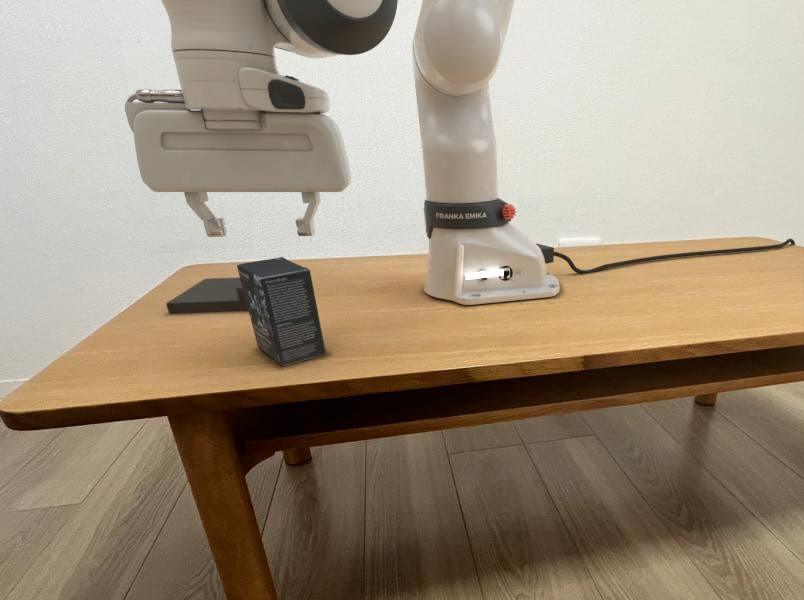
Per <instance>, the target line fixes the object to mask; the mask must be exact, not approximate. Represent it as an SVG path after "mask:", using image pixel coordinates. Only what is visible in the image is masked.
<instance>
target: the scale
mask: <svg viewBox="0 0 804 600" xmlns="http://www.w3.org/2000/svg"><path fill="white" fill-rule="evenodd" d="M165 304H166V308H167V311H168V314H169V315H179V314H181V315H182V314H184V315H185V314H206V313H207V314H208V313H232V312H249V311H248V307H247V303H246V299H245V296H244V292H243V288H242V284H241V280H240V277H214V278H203V279H202V280H201V281H199V282H198V283H196V284H194V285H193V286H191V287H190V288H188V289H186V290H185V291H183V292H182V293H180V294H179V295H177V296H176V297H174V298H172V299H171V300H169V301H168V302H166V303H165Z"/></svg>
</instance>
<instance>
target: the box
mask: <svg viewBox="0 0 804 600" xmlns="http://www.w3.org/2000/svg"><path fill="white" fill-rule="evenodd" d="M236 267H237V273H238V277H239V278H240V280H241V284H242V288H243V292H244V296H245V299H246V303H247V307H248V311H247V312H248V314H249V315H248V316H249V318H250V321H251V322H250V323H251V326H252V329H253V334H254V338H255V341H256V345H257V348H258V349H259V350H261V351H262V352H264V353H265V354H266V355H267V356H269V357H270V358H271V359H272V360H274V361H275V362H276V363H277V364H279V365H280V366H281V367H286V366H290V365H293V364H296V363H300V362H303V361H307V360H311V359H314V358H318V357H321V356H324V355H326V353H327V352H326V351H327V350H326V347H325V342H324V336H323V330H322V326H321V321H320V315H319V311H318V305H317V300H316V295H315V290H314V284H313V278H312V274H311V269H310V268H308V267H305V266H302V265H301V264H297V263H295V262H293V261H291V260H289V259H287V258H285V257H283V256H279V257H276V258H275V257H274V258H269V259H262V260H256V261H255V260H254V261H249V262H244V263H240V264H236Z"/></svg>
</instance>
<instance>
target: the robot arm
mask: <svg viewBox="0 0 804 600" xmlns="http://www.w3.org/2000/svg"><path fill="white" fill-rule="evenodd" d="M160 1H161V3H162V5H163V7H164V9H165V11H166V14H167V17H168V19H169V24H170V31H171V35H170V36H171V38H170V47H171V52H172V57H173V61H174V65H175V69H176V72H177V77H178V81H179V85H180V89H162V90H161V89H160V90H152V89H149V88H147V89H146V88H142V89H137V90H135V93H134V94H131V95H129V96H128V97H127V99H126V101H125V104H124V112H125V115H126V119H127V122H128V126H129V128H130V130H131V132H132V133H133V139H134V141H133V142H134V148H135V154H136V160H137V165H138V170H139V175H140V178H141V181H142V182H143V183H144V184H145V185H146V187H148V188H149V189H150V190H151V191H152V192H155V193H183V194H184V198H185V202H186V204H187V206H189V208H190V209H191V210H192V211H193V212H194V213H195V214H196V216H197V217H198V218H199V219H200V220H201V221H202V222H203V226H204V229H205V234H206V236H207V237H209V238H219V237H220V238H223V237H225V236H227V234H228V233H227V228H226V227H225V225H226V223H225V219H224V217H216V216H215V214H214V213H213V212H212V211H211V209H210V208H209V207H208V206H207V205H206V203H205V202H208V201H209V196H208V193H301V199H302V203H303V204H308V205H307V207H306V210H305V213H304V215H303V217H298V218H296V219H295V220H294V221H295V226H296V228H297V236H298V237H313V236H314V235H316V228H315V223H314V218H315V216H316V214H317V211H318V208H319V206H320V203H321V195H320V194H321V193H342V192H344V191H345V190H347V189H348V187H349V186H350V184H351V182H352V176H351V175H352V174H351V167H350V162H349V157H348V152H347V148H346V145H345V141H344V138H343V134H342V131H341V129H340V127H339V126H338V124H337V123H336V121H335V120H334V119H333V118H332V117H330V116H328V115H327V113H328V112H329V111H330V108H331V103H330V102H331V101H330V97H329V94H328V93H327V92H326V91H325V90H324V89H321V88H319V87H317V86H315V85H312V84H308V83H305V82H302V81H300V80H299V78H296V77H294V76H290V75H281V74H280V72H279V70H278V66H277V62H276V55H275V48H276V49H279V50H283V51H286V52H290V53H292V54H296V55H298V56H300V57H304V58H307V59H325V58H331V57H336V56H340V55H344V56H355V55H361V54H364V53H367V52H370V51H372V50H373V49H375V48H376V47H377V46H378V45H380V44H381V42H383V41H384V39H385V38H386V37H387V36H388V34H389V33H390V30H391V28H392V27H393V24H394V21H395V17H396V14H397V9H398V1H399V0H160ZM514 3H515V0H422V3H421V5H420V11H419V15H418V19H417V22H416V27H415V31H414V35H413V39H412V44H411V56H412V57H411V59H412V68H413V79H414V87H415V97H416V105H417V115H418V116H417V117H418V124H419V134H420V143H421V152H422V164H423V175H424V187H425V188H424V189H425V198H426V199H424V202H423V219H424V228H425V234H426V237H427V238H428V256H427V269H426V270H427V271H426V277H425V284H424V288H423V291H424V293H426V294H427V295H428V296H431V297H433V298H435V299H441V300H446V301H452V302H455V303H456V304H460V305H463V306H473V305H484V304H494V303H503V302H504V303H505V302H514V301H523V300H524V301H525V300H533V299H543V298H552V297H555V296H557V295H558V294H559V293H560V290H561V288H560V282H559V281H560V280H559V279H558V278H557V276H555V275H554V274H552V273H551V272H548V271H547V264H552V263H554V259H555V258H554V257H557V258H560V259H563V260H564V261H566V262H567V264H568V265H569V267H570V268H571V270H572V271H573V272H575V273H576V274H580V275H587V274H593V273H598V272H600V271H603V270H606V269H610V268H611V269H612V268H617V267H621V266H629V265H633V264H638V263H644V262H652V261H660V260H667V259H675V258H676V259H677V258H685V257H686V258H687V257H696V256H697V257H698V256H708V255H709V256H710V255H720V254H733V253H745V252H755V251H765V250H775V249H781V248H784V247H786V246H787V245H788V244H789V243H790V244H791V246H795V245H796V242H795V240H794V239H793V238H788V239H786V240H785V241H783V242H782V243H778V244H771V245H770V244H769V245H760V246H749V247H739V248H726V249H725V248H723V249H713V250H704V251H703V250H701V251H689V252H679V253H671V254H663V255H661V254H660V255H653V256H646V257H640V258H633V259H627V260H622V261H618V262H611V263H606V264H602V265H599V266H597V267H594V268H591V269H581V268H578V267H577V266H576V265H575V264H574V262H573V260H572V259H571V258H570V257H569V256H567V254H564V253H561V252H559V251H558V252H557V251H555V248H554V247H553V246H548V245H544V244H540V243H536V242H535V241H533V240H532V239H531V238H529V237H528V236H527V235H526V234H524V233H523V232H522V231H521V230H520V229H518V228H517V227H515V226H514V225H513V224H512V223H511V222H512V219H514V218H515V216H516V215H517V210H516V208H515V206H514V205H513V204H511V203H509V202H507V201H505V200H503V199H502V198H499V195H498V163H497V139H496V135H495V129H494V122H493V115H492V105H491V95H490V85H489V82H490V81H491V79H492V78H493V77H494V75H495V74H496V71H497V69H498V67H499V63H500V60H501V55H502V52H503V48H504V44H505V40H506V37H507V33H508V29H509V25H510V20H511V16H512V12H513V8H514ZM135 100H137V101H138V102H137V101H135Z"/></svg>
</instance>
